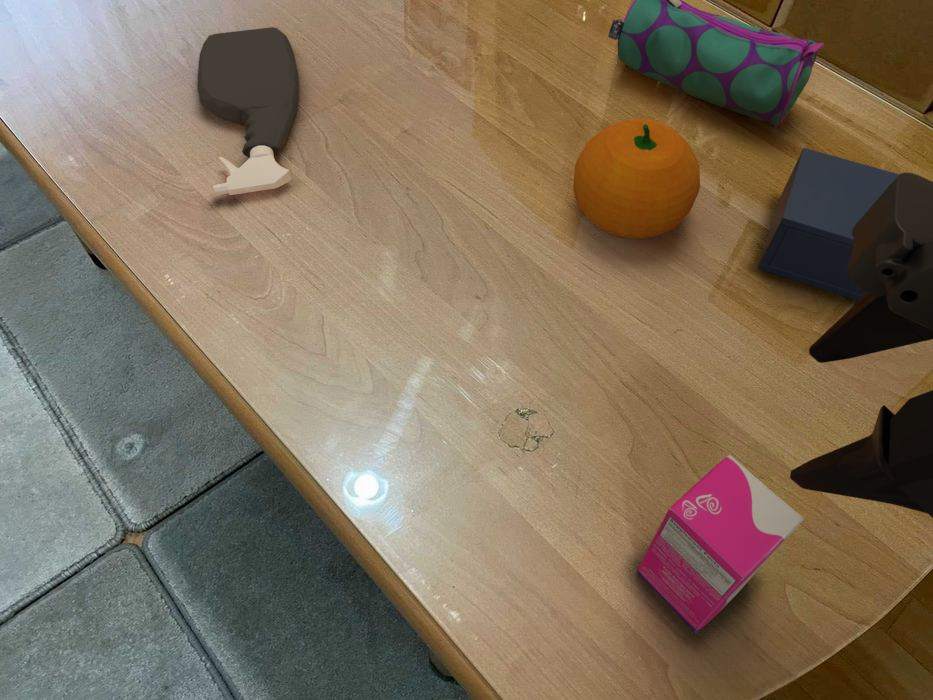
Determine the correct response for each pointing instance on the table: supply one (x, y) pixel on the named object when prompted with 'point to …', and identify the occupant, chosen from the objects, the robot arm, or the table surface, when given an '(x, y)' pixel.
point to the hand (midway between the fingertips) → (805, 413)
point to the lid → (832, 195)
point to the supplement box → (715, 541)
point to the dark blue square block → (807, 255)
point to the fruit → (636, 178)
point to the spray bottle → (251, 100)
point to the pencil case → (715, 57)
